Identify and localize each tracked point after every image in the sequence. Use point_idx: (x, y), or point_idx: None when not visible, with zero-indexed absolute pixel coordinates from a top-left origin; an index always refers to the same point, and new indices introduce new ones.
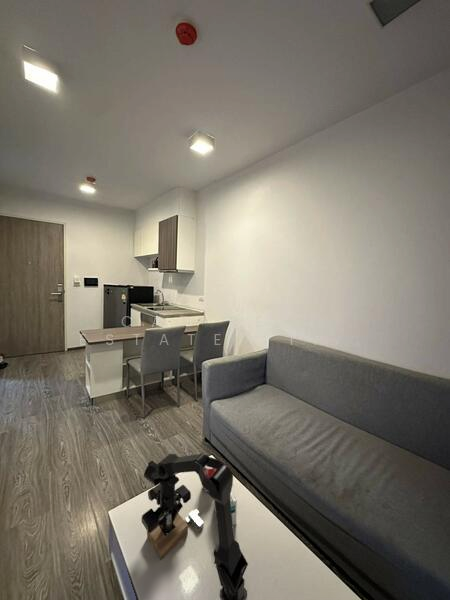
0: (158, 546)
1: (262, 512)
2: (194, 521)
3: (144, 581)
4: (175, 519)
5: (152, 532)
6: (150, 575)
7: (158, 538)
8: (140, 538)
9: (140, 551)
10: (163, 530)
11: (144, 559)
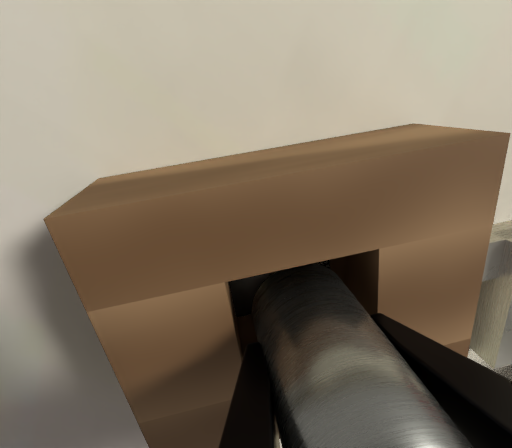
0: (150, 444)
1: None
2: (501, 320)
3: (35, 433)
4: (419, 298)
5: (117, 307)
6: (82, 421)
7: (171, 391)
8: (20, 137)
9: (14, 259)
10: (255, 323)
11: (48, 329)
